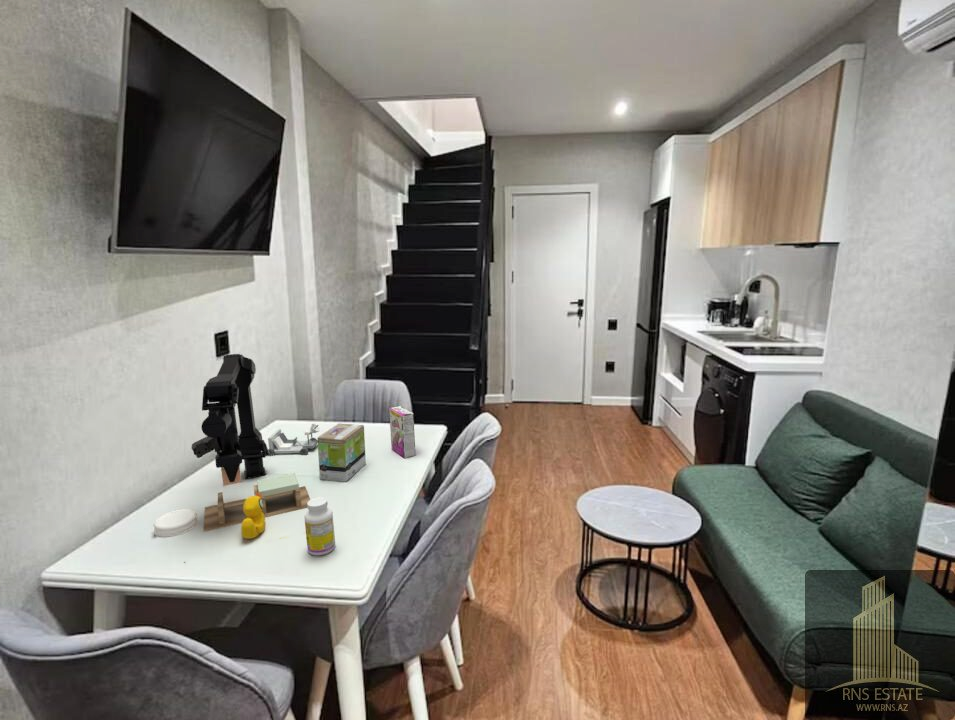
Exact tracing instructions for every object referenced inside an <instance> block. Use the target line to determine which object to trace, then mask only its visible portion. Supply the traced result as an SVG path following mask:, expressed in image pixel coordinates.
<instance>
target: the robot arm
mask: <svg viewBox="0 0 955 720" xmlns="http://www.w3.org/2000/svg"><path fill="white" fill-rule="evenodd" d="M222 358H223V360H222V364H221V366H220V368H219V370H218V372H217V375H216V376H213V377H211V378H209V379H208V381H207V382H206V383H205V385H204V386H203V389H202V391H203V392H202V403H201V405H202V406H201V411H208V412H207V414H208V416H207V417H206V418H205V419H204V420H202V423H201V431H202V434H203V435H205V437H203V438H200V439H199V440H197V441H195V442H193V443H192V444H191V450H192V452H193V455H194V456H195V457H196V458H197V459H201V458H202V457H203V456H204V455H206V454H209V453H211V452H212V451H214V452H215V453H216V455H215V457H214V458H215V460H214V461H215V467H216V468H217V469H221V467H224V469H225V471H226V474H227V476H228V479H229V481H230V482H234V481H235V478H236V475H237V472H238V469H239V467H240V465H241V464H243V463H244V471H243V475H244V479H247V480H248V479H252V478H253V479H254V478H257V477H262V476H266V475H267V473H266V472H267V471H266V467H264V461H263V459H264V458H266V457H269V456H268V455H269V454H268V449H269V447H268V446H267V443H266V442H265V440H264V439H263V434H262V432H260V431H259V429H257V427H256V421H255V420H256V419H255V414H254V406H253V398H252V390H251V384H252V382H253V381H254V378H255V374H256V372H257V371H256V369H257V368H256V364H255V362H254V360H253V359H252V358H248V357H246V356H244V355H243V354H240V353H231V354H225V355H223V357H222ZM236 405H237V413H238V421H239V427H240V432H238V426H237V425H238V424H237V417H236V410H235V409H236V408H235V407H236ZM239 433H240V434H239Z"/></svg>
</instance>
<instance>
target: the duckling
mask: <svg viewBox="0 0 955 720" xmlns="http://www.w3.org/2000/svg"><path fill="white" fill-rule="evenodd" d="M245 499H246V500H245V502H244V505H243V511H244V513H245V515H246V516H247V518H246V519H244V520H243V522H242V523H241V526H240V530H241V536H242V537H243V539H246V540H251V539H255V538H256V537H258V536H259V535H260V534H261V533H263V532H264V530H265V528H266V517H265V516H264V514H263V513H262V512H261V511H262V509H263V502H262V499H261V494H260V493H257V495H256V496H255V495H252V496H251V495H250V496H248V497H247V498H245Z"/></svg>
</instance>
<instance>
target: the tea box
mask: <svg viewBox="0 0 955 720" xmlns="http://www.w3.org/2000/svg"><path fill="white" fill-rule="evenodd" d="M316 439H317V440H318V443H317V452H318V468H319V471H318V472H319V479H320V480H323V481H332V482H333V481H335V482H347V481H348V480H349V479H351V478H352V477H353V476H354V475H356V473H357V472H358V471H359V470H360V469H361V468H362V467H364V466H365V465H366V463H367V462H366V459H367V458H366V441H365V439H366V438H365V426H364V424H355V423H354V424H352V423H351V424H350V423H337V424H336V425H334V426H333V427H331V428H329V429H328V430H327V431H325V432H323V433H322V434H321V435H319V436H318V437H317V438H316Z"/></svg>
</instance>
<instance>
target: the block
mask: <svg viewBox="0 0 955 720" xmlns="http://www.w3.org/2000/svg"><path fill="white" fill-rule="evenodd" d="M220 469H221V470H220V471H221V478H222V479H221V480H222V485H223V486H229V485H233V484H234V485H235V484H240V483H242V476H241V469H240V466H239V469H238V472H237V475H236V478H235V481H234V482H230V481H229V479H228V476H227V474H226V471H225V469H224V467H220Z"/></svg>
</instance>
